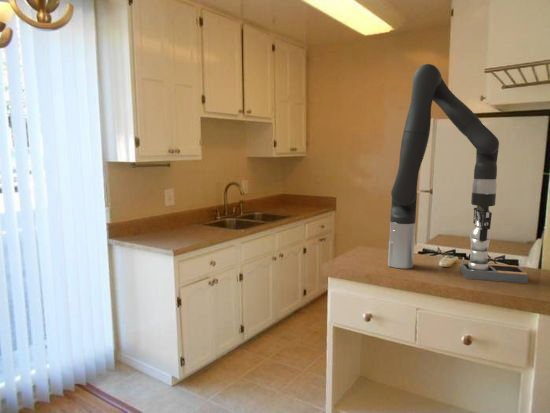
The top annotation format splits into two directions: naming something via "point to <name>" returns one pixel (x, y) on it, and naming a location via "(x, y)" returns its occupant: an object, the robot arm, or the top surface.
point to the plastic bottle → (479, 250)
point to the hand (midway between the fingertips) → (480, 238)
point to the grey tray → (496, 273)
